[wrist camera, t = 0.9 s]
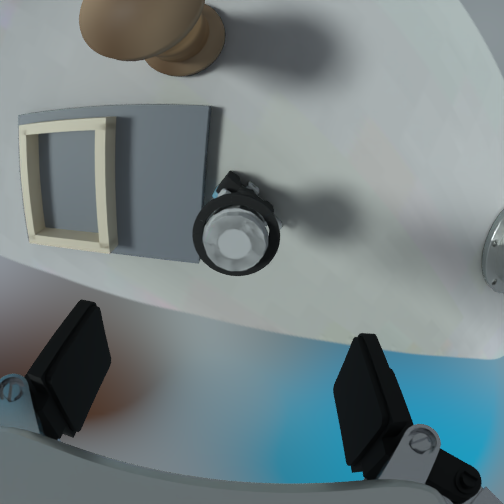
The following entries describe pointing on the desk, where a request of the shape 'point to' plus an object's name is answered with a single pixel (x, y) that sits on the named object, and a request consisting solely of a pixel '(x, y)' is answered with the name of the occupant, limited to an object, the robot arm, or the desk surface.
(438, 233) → the desk surface
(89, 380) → the robot arm
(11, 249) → the desk surface
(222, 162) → the desk surface
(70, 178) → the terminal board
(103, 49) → the wooden cabinet knob
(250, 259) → the push button
